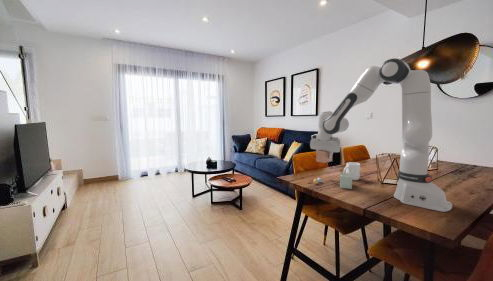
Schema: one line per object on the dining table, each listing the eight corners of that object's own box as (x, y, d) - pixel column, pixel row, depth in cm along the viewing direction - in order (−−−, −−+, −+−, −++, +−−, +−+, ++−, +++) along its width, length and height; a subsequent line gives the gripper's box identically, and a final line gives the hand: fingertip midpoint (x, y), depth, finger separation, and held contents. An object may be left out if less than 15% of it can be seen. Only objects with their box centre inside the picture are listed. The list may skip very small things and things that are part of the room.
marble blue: (322, 182, 138) (322, 177, 137) (320, 183, 136) (320, 178, 135) (318, 181, 140) (318, 176, 140) (315, 182, 138) (316, 177, 138)
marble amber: (319, 183, 135) (319, 179, 135) (316, 184, 133) (316, 180, 133) (315, 182, 138) (315, 178, 137) (312, 183, 136) (312, 178, 135)
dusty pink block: (332, 160, 143) (332, 150, 142) (324, 163, 138) (324, 152, 137) (323, 159, 148) (324, 149, 147) (316, 161, 142) (316, 150, 141)
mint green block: (350, 184, 134) (351, 173, 133) (351, 189, 125) (352, 177, 124) (339, 183, 136) (340, 172, 135) (340, 187, 127) (340, 176, 127)
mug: (348, 181, 138) (348, 166, 137) (338, 178, 146) (339, 163, 145) (362, 179, 142) (363, 164, 141) (352, 176, 150) (353, 161, 149)
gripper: (342, 137, 134) (341, 159, 136) (314, 135, 150) (314, 154, 152) (337, 138, 131) (336, 160, 132) (309, 135, 147) (308, 155, 148)
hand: (324, 157), depth 142 cm, fingers closed on dusty pink block, 6 cm apart
